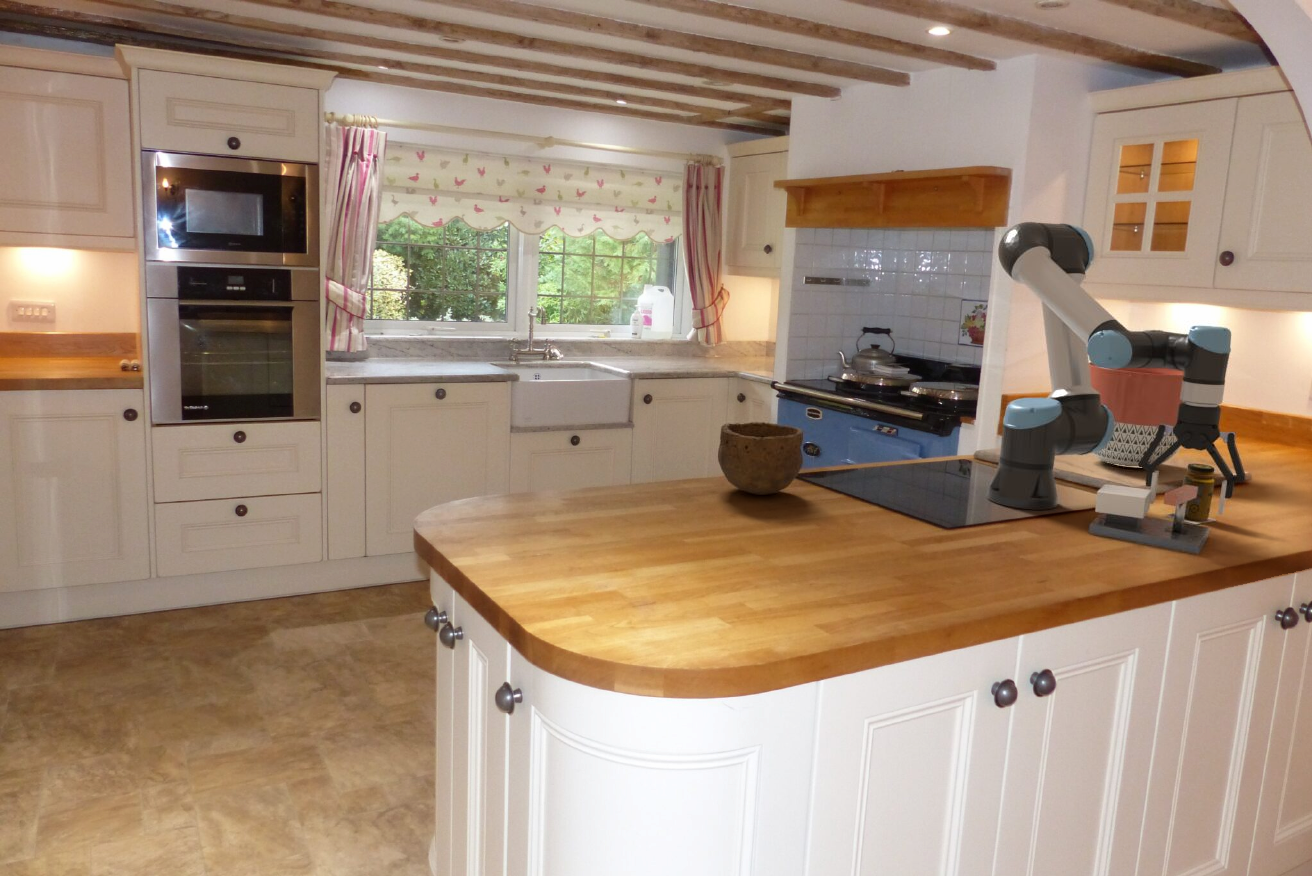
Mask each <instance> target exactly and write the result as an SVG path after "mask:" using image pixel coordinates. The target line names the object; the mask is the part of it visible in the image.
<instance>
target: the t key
mask: <svg viewBox="0 0 1312 876" xmlns="http://www.w3.org/2000/svg"><path fill="white" fill-rule="evenodd" d="M1197 490H1198V487H1196V486H1190V485H1184V486H1179V487H1177V488H1174V489H1172V490H1169V491H1166V492H1164V496H1163V497H1164V498H1163V503H1162V504H1164V505H1168V506H1173V507H1175V509H1174V513H1175V514H1174V513H1173V514H1174V518H1173V520H1172V521H1173V527H1172V530H1175V531H1182V528H1183V523H1185V521H1184V515H1185V509H1186V503H1187V501H1189V500H1191V499H1194V498H1196V496H1197Z"/></svg>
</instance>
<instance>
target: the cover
mask: <svg viewBox="0 0 1312 876" xmlns="http://www.w3.org/2000/svg"><path fill="white" fill-rule="evenodd" d="M1150 490H1151V489H1146V488H1139V487H1138V488H1137V487H1129V486H1123V485H1117V484H1115V485H1114V484H1106V483H1105V484H1103V485H1102V487H1100V488H1099V489H1098V491H1097V492H1096V500H1095V513H1100V514H1101V513H1108V514H1115V515H1122V516H1129V517H1136V518H1144V516H1146V515H1147V513H1149V511H1150V507H1151V506H1150V505H1151V504H1150V503H1149V498H1150Z"/></svg>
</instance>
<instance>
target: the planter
mask: <svg viewBox="0 0 1312 876" xmlns="http://www.w3.org/2000/svg"><path fill="white" fill-rule="evenodd" d="M1089 369H1090V377H1091V386H1092V388H1093V389H1095V390H1096V391H1097V392H1099V393H1100V400H1101V404H1103V405H1105V406H1107V407H1108V410H1110V411H1111V412H1112V414H1113V417H1114V421H1115V428H1114V433H1113V436H1112V438H1111V440H1110V441H1109V442H1108V444H1107V446H1106V447H1104V448H1103V449H1102V450H1100V451H1098V452H1095V453H1092V454H1093V455H1094V456H1095V457H1096V458H1097V459H1099V460H1101V461H1102V462H1104V461H1105V462H1104V463H1106V462H1109V463H1112V464H1119V465H1125V466H1138V463H1139V462H1140V460H1141V459H1142V457H1143V456H1144V454H1145V452H1146V451H1147V449H1148V448H1149V446H1150V445H1151V443H1152V442H1153V440H1154V439H1155V437H1156V436H1157V432H1158V427H1159V425H1161V424H1162V423H1165V424H1166V425H1169V426H1175V425H1176V423H1177V416H1178V409H1179V404H1180V403H1182V402H1183V401H1182V400H1181V399H1180V395H1181V388H1182V380H1183V373H1184V371H1179V370H1173V369H1166V368H1119V369H1108V368H1101V367H1097V366H1095V365H1094V364H1093V363H1092V362H1091V361H1089ZM1177 440H1178V439H1177V438H1176V436H1175V435H1174V433H1173V432H1170V433H1169V434H1168V435H1166V436H1165V435H1164V438H1163V439H1162V441H1161V442H1160V444H1159V445H1158V447H1157V448H1156V450H1155V451H1154V453H1153V454H1152V456H1151V457H1150V459H1149V461H1148V463H1150V464H1152V463H1153V462H1154V461H1155V460H1156V459H1157V458H1158V457H1159V456H1161V455H1162V454H1163V453H1164V452H1165V451H1166V450H1167V449H1168V448H1169V447H1170V446H1172V445H1173V444H1174V443H1175V442H1176V441H1177ZM1181 447H1182V446H1180V447H1179V448H1178V449H1177V450H1176V451H1174V452H1173V453H1172V454H1171V455H1170V456H1169V457H1168V458H1167V459H1165V460H1164V461H1163V462H1162V463H1161V464H1160V465H1162V464H1164V463H1166V462H1167V461H1169V460H1170V459H1171V458H1173V457H1174V456H1175V455H1176V454H1177V453H1178V452H1179V450H1180V449H1181Z"/></svg>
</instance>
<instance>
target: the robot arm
mask: <svg viewBox="0 0 1312 876" xmlns="http://www.w3.org/2000/svg"><path fill="white" fill-rule="evenodd" d="M997 253H998V256H997V257H998V260H999V263H1000V265H1001V267H1002V269H1003V270H1004V271H1005V273H1006V274H1008V276H1009V277H1010V278H1011V279H1013V280H1014V282H1015V283H1017V284H1024V285H1026V286H1027V288H1028V289H1029V290H1031V292H1033V294H1035V296H1036V297H1038V299H1040V300H1041V308H1042V316H1043V324H1044V325H1043V326H1044V335H1045V342H1046V344H1045V345H1046V352H1047V360H1048V369H1049V378H1050V387H1051V392H1050V393H1049V395H1048V396H1047V397H1023V398H1018V399H1015V400H1011V401H1010V402H1008V404H1007V405H1006V408H1005V413H1004V417H1003V419H1002V423H1003V424H1002V425H1003V426H1002V435H1001V441H1000V442H1001V444H1000V452H999V459H998V461H999V462H998V466H997V468H996V470H995V472H994V474H993V477H992V478H991V480H990V483H989V485H988V487H987V493H986V498H987V499H988V500H989V501H991V502H994V503H995V504H999V505H1002V506H1006V507H1009V508H1010V507H1011V508H1017V509H1023V510H1034V511H1036V510H1038V511H1039V510H1040V511H1041V510H1051V509H1055V508H1057V506H1058V499H1059V496H1058V495H1059V494H1058V489H1057V486H1056V480H1055V476H1054V466H1055V460H1056V459H1055V457H1056V456H1069V455H1070V456H1072V455H1073V456H1075V455H1077V456H1084V455H1089V454H1093V453H1095V452H1098V451H1100V450H1102V449H1103V448H1104V447H1106V446H1107V444H1108V442H1109V441H1110V440H1111V438H1112V436H1113V433H1114V428H1115V421H1114V417H1113V414H1112V412H1111V411H1110V410H1108V407H1107V406H1105V405H1103V404H1101V400H1100V393H1099V392H1097V391H1096V390H1095V389H1093V388H1092V386H1091V377H1090V369H1089V362H1092V363H1093V364H1094V365H1095V366H1097V367H1101V368H1108V369H1119V368H1166V369H1173V370H1179V371H1184V373H1183V380H1182V388H1181V395H1180V399H1181V400H1182V401H1183V402H1182V403H1180V404H1179V409H1178V416H1177V423H1176V425H1175V426H1169V425H1166V424H1165V423H1162V424H1161V425H1159V427H1158V432H1157V436H1156V437H1155V439H1154V440H1153V442H1152V443H1151V445H1150V446H1149V448H1148V449H1147V451H1146V452H1145V454H1144V456H1143V457H1142V459H1141V460H1140V462H1139V463H1138V466H1139V467H1142V468H1144V469H1143V470H1146V477H1145V478H1146V479H1145V486H1146V487H1148V488H1149V487H1150V489H1149V490H1150V498H1149V503H1150V505H1153V504H1154V503H1155V501H1156V495H1157V489H1158V478H1159V474H1160V473H1159V472H1160V471H1159V470H1156V469H1157V468H1158V467H1159V466H1160V465H1162V464H1163V463H1162V462H1163V461H1164V460H1165V459H1167V458H1168V457H1169V456H1170V455H1171V454H1172V453H1173V452H1174V451H1176V450H1177V449H1178V448H1179V447H1180V446H1181V447H1183V448H1184V449H1187V450H1193V449H1194V450H1197V451H1204V450H1206V451H1207V453H1208V455H1210V457H1211V458H1212V460H1213V461H1214V463H1215V465H1216V467H1218V470H1219V471H1220V472H1221V474H1222V476H1223V477H1224V479H1225V480H1223V481H1222V482H1221V490H1220V498H1219V504H1218V511H1217V515H1218V516H1219V515H1220V516H1222V515H1223V514H1224V511H1225V503H1226V499H1229V500H1230V499H1231V498H1232V497H1233V495H1234V494H1233V493H1234V489H1235V483H1238V482H1239V483H1241V482H1244V481H1245V480H1246V478H1247V476H1246V475H1247V474H1246V472H1245V470H1244V466H1243V463H1242V460H1241V457H1240V454H1239V451H1238V448H1237V445H1236V436H1237V433H1236V432H1235V431H1230V432H1229V431H1228V432H1227V431H1220V428H1219V427H1220V420H1221V415H1222V414H1221V413H1222V408H1221V406H1219V405H1221V404H1222V403H1223V400H1224V393H1225V392H1224V391H1225V386H1226V375H1227V370H1228V363H1229V359H1230V353H1231V351H1232V349H1231V341H1232V331H1231V329H1230V328H1228V327H1222V326H1213V325H1211V326H1210V325H1192V326H1191V327H1190V329H1189V331H1188V333H1180V332H1179V333H1177V332H1170V331H1166V330H1165V331H1164V330H1160V329H1158V330H1156V329H1146V330H1142V331H1141V330H1139V331H1135V330H1134V331H1133V330H1129V329H1127V328H1126V327H1125V326H1124V325H1123V324H1122V323H1120V322H1119V321H1118V320H1117V319H1116V318H1115V317H1114V316H1113V315H1112V314H1111V313H1109V311H1108V310H1106V309H1105V308H1104V307H1103V306H1102V305H1101V304H1100V303H1099V302H1098V301H1097V300H1096V299H1095V298H1094V297H1093V296H1091V295H1090V294H1089V292H1087V291H1086V290H1085V289H1084V288H1083V287H1082V286H1081V284H1082V283H1083V281H1085V279H1086V277H1087V275H1086V271H1087V270H1088V269H1089V268H1090V267H1091V265H1092V263H1091V262H1092V261H1093V259H1094V254H1095V247H1094V244H1093V240H1092V237H1090V235H1089V233H1088V232H1087V231H1086V230H1085V229H1083V228H1081V227H1080V226H1077V225H1071V224H1069V223H1051V222H1050V223H1048V222H1047V223H1046V222H1036V221H1024V222H1020V223H1017V224H1015V225H1014V226H1012V227H1010V228H1008V230H1007V231H1005V233H1004V234H1003V236H1001V239H1000V241H999V244H998V249H997ZM1170 432H1173V433H1174V435H1175V436H1176V438H1177V439H1178V440H1177V441H1176V442H1175V443H1174V444H1173V445H1172V446H1170V447H1169V448H1168V449H1167V450H1166V451H1165V452H1164V453H1163V454H1162V455H1161V456H1159V457H1158V458H1157V459H1156V460H1155V461H1154V462H1153V463H1152V464H1150V463H1148V461H1149V459H1150V457H1151V456H1152V454H1153V453H1154V451H1155V450H1156V448H1157V447H1158V445H1159V444H1160V442H1161V441H1162V439H1163V438H1164V435H1165V436H1166V435H1168V434H1169V433H1170ZM1219 438H1220V439H1222V441H1223V443H1224V444H1226V445H1227V446H1226V447H1227V450H1228V453H1229V456H1230V459H1231V462H1232V465H1233V469H1234V472H1235V474H1233V472H1232V471H1231V468H1230V467H1229V466H1228V464H1227V463H1226V461H1225V460H1224V457H1222V455H1221V453H1220V452H1219V450H1218V448H1217V446H1216V445H1215V442H1216V441H1217V440H1218V439H1219ZM1181 447H1180V448H1181ZM1161 463H1162V464H1161Z"/></svg>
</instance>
